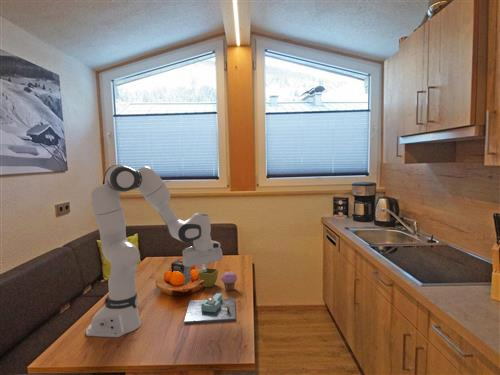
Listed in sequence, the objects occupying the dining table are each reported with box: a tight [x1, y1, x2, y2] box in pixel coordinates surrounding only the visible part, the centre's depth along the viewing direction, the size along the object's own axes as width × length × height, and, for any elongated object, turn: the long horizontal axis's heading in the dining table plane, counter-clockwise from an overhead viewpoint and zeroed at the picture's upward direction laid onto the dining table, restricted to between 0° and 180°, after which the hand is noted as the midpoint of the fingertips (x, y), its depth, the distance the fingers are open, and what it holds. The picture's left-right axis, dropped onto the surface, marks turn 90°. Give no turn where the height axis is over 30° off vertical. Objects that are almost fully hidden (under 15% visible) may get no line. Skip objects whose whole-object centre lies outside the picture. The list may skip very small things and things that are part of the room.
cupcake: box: [220, 271, 238, 292], centre depth 183 cm, size 9×9×10 cm
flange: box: [201, 292, 223, 312], centre depth 160 cm, size 14×7×3 cm, turn 164°
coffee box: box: [170, 260, 192, 285], centre depth 183 cm, size 9×6×16 cm
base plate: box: [183, 297, 237, 325], centre depth 157 cm, size 23×22×6 cm
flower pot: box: [198, 267, 219, 288], centre depth 189 cm, size 9×9×9 cm
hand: (203, 272), depth 164 cm, fingers closed
